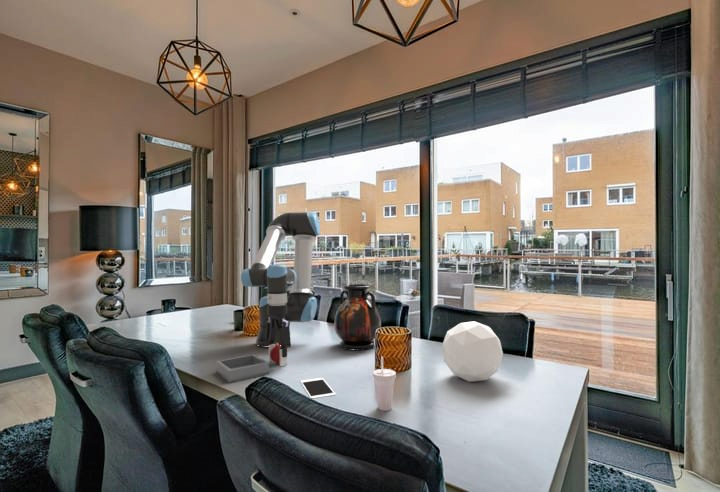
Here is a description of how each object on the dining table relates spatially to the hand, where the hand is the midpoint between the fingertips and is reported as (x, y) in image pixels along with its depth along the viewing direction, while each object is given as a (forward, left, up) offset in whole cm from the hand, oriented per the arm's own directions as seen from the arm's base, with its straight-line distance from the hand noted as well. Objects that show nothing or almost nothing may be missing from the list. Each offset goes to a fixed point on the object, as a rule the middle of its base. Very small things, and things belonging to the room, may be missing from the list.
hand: (277, 363), depth 141 cm
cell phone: (-10, +30, -1) cm, 32 cm away
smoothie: (-25, +51, 0) cm, 57 cm away
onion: (0, 0, 0) cm, 1 cm away
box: (+13, +7, 0) cm, 15 cm away
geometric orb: (-61, +39, 0) cm, 72 cm away
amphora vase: (-37, -15, 0) cm, 40 cm away
